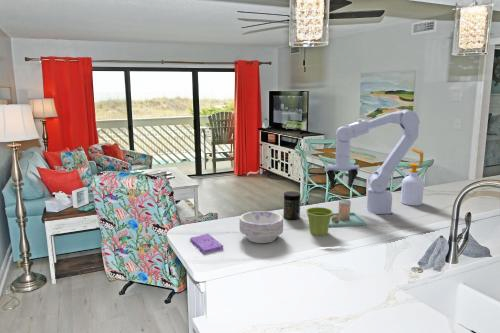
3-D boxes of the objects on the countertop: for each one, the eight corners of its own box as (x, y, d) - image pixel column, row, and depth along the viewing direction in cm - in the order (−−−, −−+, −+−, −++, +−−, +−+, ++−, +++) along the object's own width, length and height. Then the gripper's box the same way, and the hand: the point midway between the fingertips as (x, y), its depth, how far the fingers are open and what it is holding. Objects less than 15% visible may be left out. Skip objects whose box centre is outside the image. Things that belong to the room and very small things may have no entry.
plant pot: (300, 231, 142) (301, 208, 140) (322, 227, 146) (323, 205, 144) (314, 240, 133) (315, 217, 132) (337, 236, 137) (338, 213, 135)
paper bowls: (273, 228, 145) (273, 207, 144) (290, 243, 131) (290, 221, 130) (234, 233, 141) (234, 212, 139) (247, 249, 127) (247, 227, 125)
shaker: (347, 216, 156) (348, 199, 154) (351, 220, 151) (352, 202, 150) (336, 216, 155) (337, 199, 154) (340, 220, 151) (340, 203, 149)
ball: (338, 221, 150) (338, 213, 149) (340, 224, 147) (341, 216, 146) (330, 222, 150) (330, 214, 149) (332, 225, 146) (333, 216, 146)
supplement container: (299, 222, 151) (299, 196, 149) (282, 221, 153) (282, 195, 151) (300, 216, 158) (301, 191, 156) (284, 215, 159) (284, 190, 157)
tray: (354, 215, 158) (354, 212, 158) (366, 226, 147) (366, 222, 146) (315, 217, 156) (316, 213, 156) (325, 228, 145) (325, 224, 144)
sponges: (204, 255, 124) (203, 249, 124) (189, 241, 135) (189, 236, 134) (223, 250, 127) (223, 245, 127) (208, 237, 138) (208, 232, 138)
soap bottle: (403, 198, 181) (407, 146, 176) (424, 202, 176) (429, 148, 170) (398, 203, 174) (402, 149, 169) (419, 207, 169) (424, 151, 163)
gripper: (355, 153, 165) (354, 184, 168) (322, 154, 164) (321, 185, 167) (362, 156, 159) (360, 188, 162) (328, 157, 157) (326, 189, 160)
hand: (341, 187), depth 164 cm, fingers open, 7 cm apart
